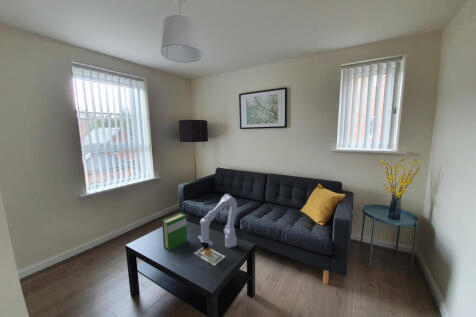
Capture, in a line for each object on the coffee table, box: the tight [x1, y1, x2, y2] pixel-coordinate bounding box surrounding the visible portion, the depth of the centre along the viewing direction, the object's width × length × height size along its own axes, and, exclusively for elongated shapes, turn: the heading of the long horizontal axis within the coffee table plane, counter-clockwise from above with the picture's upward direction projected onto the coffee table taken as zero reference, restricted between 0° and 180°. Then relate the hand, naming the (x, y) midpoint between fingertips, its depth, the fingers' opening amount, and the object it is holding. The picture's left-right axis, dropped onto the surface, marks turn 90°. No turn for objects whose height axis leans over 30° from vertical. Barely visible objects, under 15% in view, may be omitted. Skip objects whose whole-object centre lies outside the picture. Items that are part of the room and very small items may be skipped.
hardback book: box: [161, 212, 188, 252], centre depth 159 cm, size 18×7×24 cm, turn 141°
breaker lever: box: [205, 246, 212, 256], centre depth 145 cm, size 4×3×5 cm
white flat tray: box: [193, 247, 226, 267], centre depth 145 cm, size 12×22×2 cm, turn 53°
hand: (205, 250), depth 147 cm, fingers closed
